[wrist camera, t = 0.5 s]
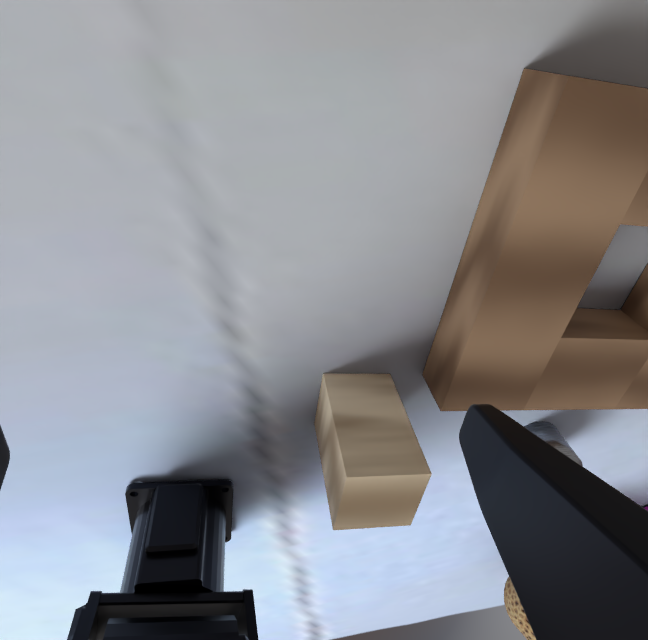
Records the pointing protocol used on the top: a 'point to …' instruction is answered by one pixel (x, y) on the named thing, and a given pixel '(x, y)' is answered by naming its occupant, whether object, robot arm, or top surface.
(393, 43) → the top surface
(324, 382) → the tan cardboard cuboid
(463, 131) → the top surface
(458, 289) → the hole block
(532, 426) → the grey metal cylinder
